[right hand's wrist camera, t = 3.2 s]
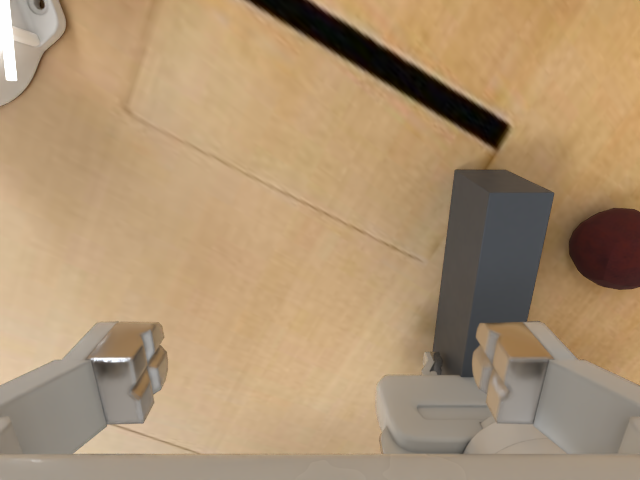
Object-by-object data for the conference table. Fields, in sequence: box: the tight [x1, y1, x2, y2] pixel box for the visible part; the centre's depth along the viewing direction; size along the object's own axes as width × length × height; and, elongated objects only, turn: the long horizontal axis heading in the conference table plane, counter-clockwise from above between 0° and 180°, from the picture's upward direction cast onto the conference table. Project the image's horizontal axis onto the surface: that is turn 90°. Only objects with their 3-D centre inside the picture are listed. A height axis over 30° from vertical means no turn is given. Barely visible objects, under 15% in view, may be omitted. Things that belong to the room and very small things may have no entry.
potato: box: [569, 208, 640, 290], centre depth 37 cm, size 7×8×7 cm
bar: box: [433, 170, 554, 377], centre depth 39 cm, size 23×5×9 cm, turn 0°
